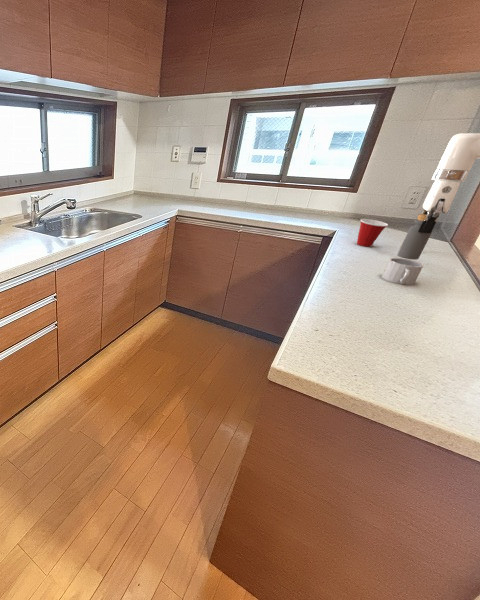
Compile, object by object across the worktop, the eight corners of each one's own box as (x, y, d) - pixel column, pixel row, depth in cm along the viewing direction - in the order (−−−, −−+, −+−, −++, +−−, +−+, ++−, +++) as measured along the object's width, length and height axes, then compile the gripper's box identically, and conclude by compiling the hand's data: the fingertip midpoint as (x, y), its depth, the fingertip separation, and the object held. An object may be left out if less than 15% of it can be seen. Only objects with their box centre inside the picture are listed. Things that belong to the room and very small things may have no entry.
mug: (380, 273, 127) (388, 256, 124) (411, 279, 122) (420, 261, 119) (384, 283, 118) (392, 265, 115) (418, 290, 113) (428, 271, 110)
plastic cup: (370, 249, 156) (381, 224, 151) (346, 243, 165) (355, 219, 159) (382, 247, 160) (394, 222, 155) (358, 241, 169) (368, 218, 163)
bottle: (418, 260, 114) (440, 218, 107) (396, 257, 117) (416, 215, 111) (418, 257, 118) (439, 215, 111) (396, 253, 121) (416, 213, 115)
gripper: (474, 178, 97) (443, 237, 105) (458, 174, 109) (431, 227, 117) (439, 176, 101) (412, 234, 109) (428, 173, 113) (403, 224, 121)
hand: (422, 230), depth 113 cm, fingers closed on bottle, 5 cm apart
